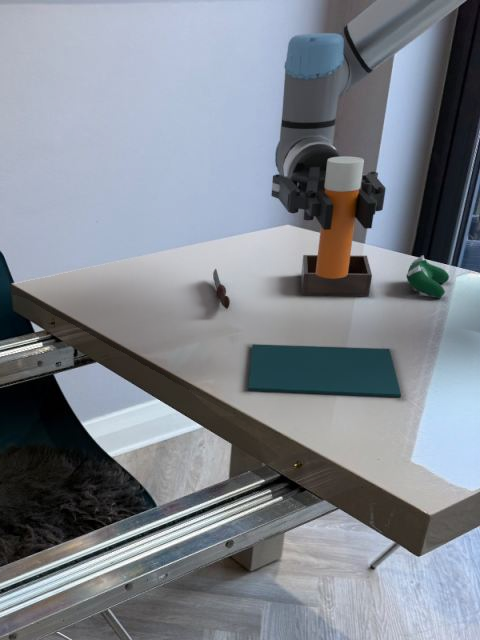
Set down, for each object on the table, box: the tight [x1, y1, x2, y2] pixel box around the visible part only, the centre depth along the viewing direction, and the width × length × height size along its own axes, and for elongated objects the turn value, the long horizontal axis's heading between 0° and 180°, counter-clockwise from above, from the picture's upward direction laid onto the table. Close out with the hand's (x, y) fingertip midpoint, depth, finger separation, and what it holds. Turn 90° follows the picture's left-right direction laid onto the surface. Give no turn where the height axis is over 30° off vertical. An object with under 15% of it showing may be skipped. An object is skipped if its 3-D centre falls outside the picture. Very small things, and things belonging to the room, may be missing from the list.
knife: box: [212, 268, 231, 310], centre depth 125 cm, size 18×2×3 cm, turn 179°
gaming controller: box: [406, 254, 450, 299], centre depth 123 cm, size 9×4×6 cm
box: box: [300, 254, 373, 297], centre depth 127 cm, size 10×10×3 cm
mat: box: [247, 343, 402, 398], centre depth 101 cm, size 18×14×1 cm
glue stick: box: [316, 155, 365, 279], centre depth 92 cm, size 4×4×13 cm
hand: (349, 216), depth 87 cm, fingers closed on glue stick, 4 cm apart
